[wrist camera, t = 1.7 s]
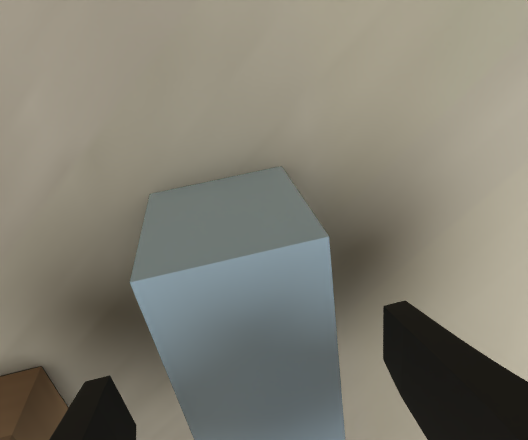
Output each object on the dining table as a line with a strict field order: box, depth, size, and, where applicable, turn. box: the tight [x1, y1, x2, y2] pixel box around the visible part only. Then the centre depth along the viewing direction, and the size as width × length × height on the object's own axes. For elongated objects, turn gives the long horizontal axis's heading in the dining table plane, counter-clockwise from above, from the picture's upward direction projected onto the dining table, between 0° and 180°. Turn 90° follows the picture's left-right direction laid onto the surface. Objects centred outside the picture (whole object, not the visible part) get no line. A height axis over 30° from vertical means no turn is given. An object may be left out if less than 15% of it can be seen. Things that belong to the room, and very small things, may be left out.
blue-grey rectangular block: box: [130, 166, 345, 440], centre depth 11 cm, size 8×4×4 cm, turn 9°
